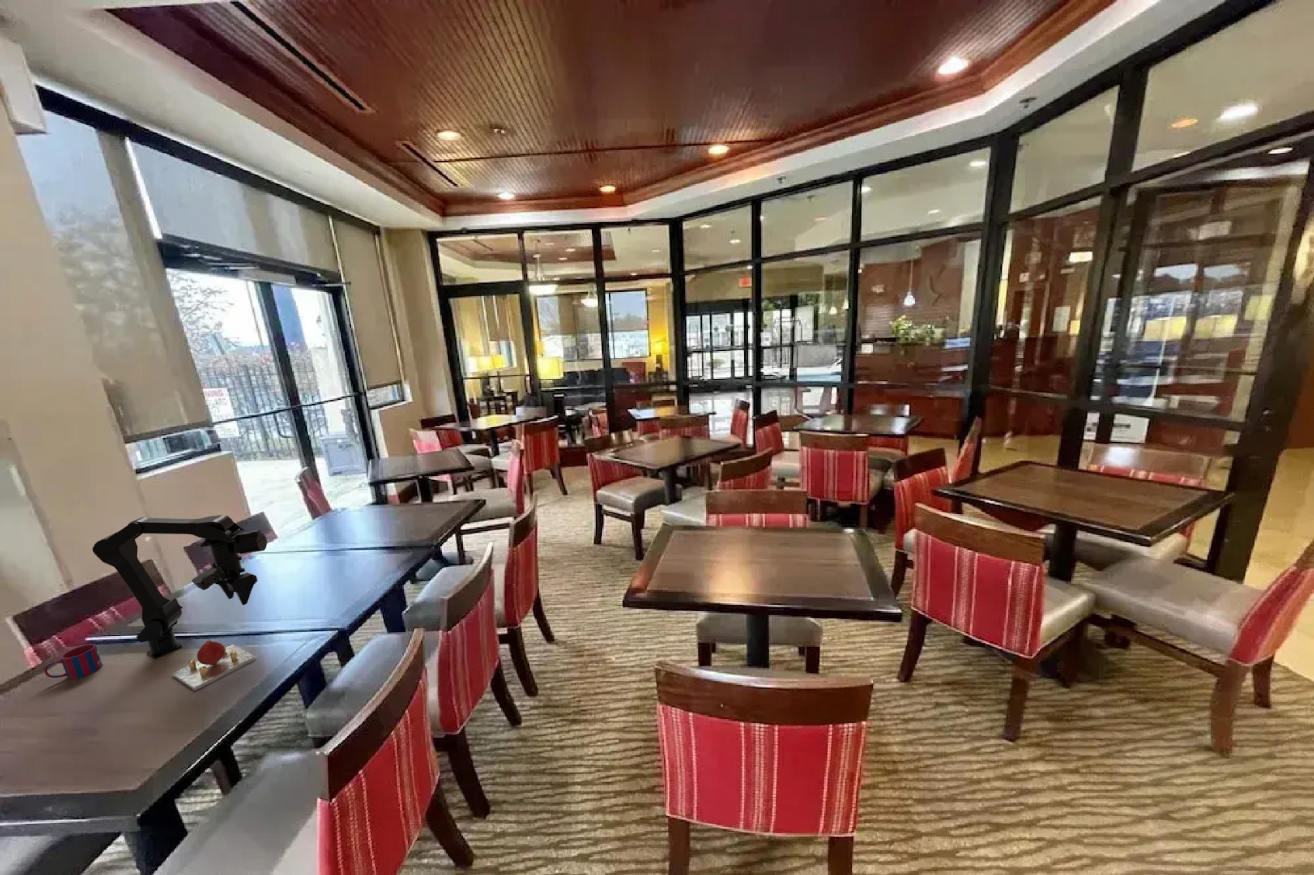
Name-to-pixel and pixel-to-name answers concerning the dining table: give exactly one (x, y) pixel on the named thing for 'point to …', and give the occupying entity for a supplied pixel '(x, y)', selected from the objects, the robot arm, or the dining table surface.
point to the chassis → (213, 668)
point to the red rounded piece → (210, 653)
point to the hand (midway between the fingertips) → (237, 601)
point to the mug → (78, 662)
